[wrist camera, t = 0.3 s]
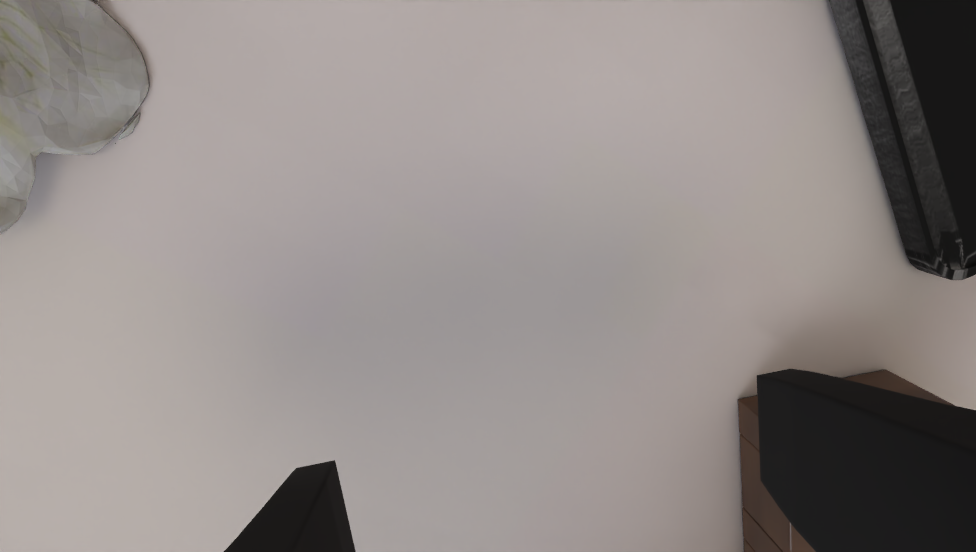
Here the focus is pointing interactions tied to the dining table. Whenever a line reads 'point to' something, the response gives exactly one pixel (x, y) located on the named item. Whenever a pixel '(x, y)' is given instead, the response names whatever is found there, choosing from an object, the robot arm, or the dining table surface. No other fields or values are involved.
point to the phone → (920, 119)
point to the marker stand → (765, 527)
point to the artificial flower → (60, 88)
